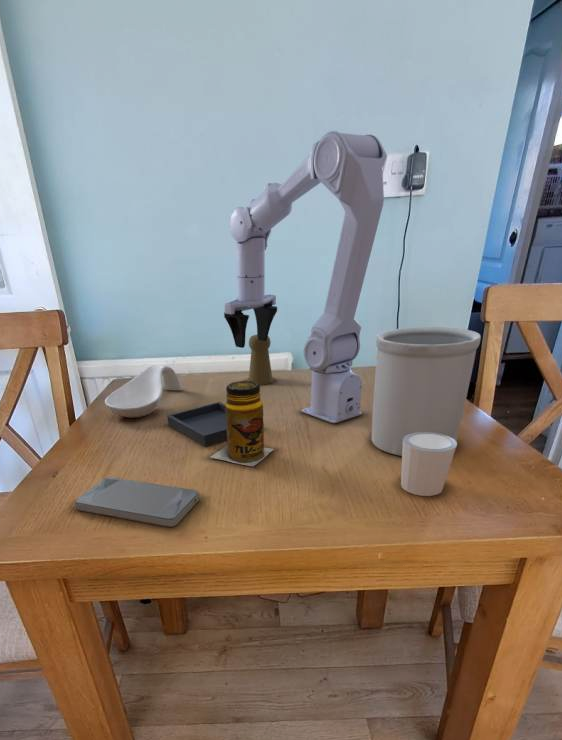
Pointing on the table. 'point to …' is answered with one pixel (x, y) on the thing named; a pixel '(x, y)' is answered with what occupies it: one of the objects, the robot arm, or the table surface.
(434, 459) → the white cup
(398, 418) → the utensil holder
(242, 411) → the condiment
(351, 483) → the table surface
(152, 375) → the spoon rest
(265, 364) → the pepper mill
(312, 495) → the table surface
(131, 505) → the phone
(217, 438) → the slate tray
